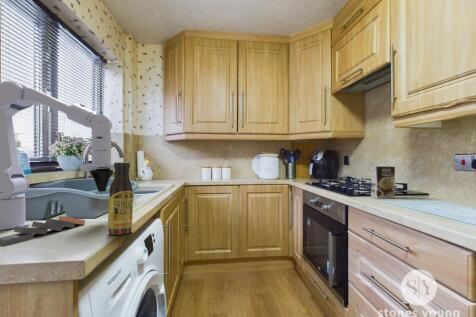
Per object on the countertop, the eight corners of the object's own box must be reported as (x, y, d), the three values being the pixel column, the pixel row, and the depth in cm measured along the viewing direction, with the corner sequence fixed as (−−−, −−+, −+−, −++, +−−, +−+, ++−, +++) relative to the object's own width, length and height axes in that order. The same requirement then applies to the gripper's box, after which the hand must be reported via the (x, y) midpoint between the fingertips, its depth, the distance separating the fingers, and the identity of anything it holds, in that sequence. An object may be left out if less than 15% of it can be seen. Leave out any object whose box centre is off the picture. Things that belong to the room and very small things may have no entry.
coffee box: (377, 198, 129) (377, 166, 129) (370, 197, 136) (370, 166, 136) (395, 198, 129) (395, 166, 129) (388, 196, 136) (387, 166, 136)
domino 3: (61, 231, 75) (39, 228, 70) (52, 229, 77) (31, 226, 72) (63, 226, 76) (42, 222, 71) (54, 224, 77) (33, 221, 72)
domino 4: (73, 227, 79) (54, 224, 74) (64, 226, 80) (45, 223, 75) (74, 223, 79) (55, 219, 74) (66, 221, 81) (47, 218, 76)
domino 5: (84, 224, 82) (66, 221, 77) (75, 223, 84) (57, 220, 79) (85, 220, 83) (68, 216, 78) (77, 219, 84) (59, 215, 79)
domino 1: (33, 239, 68) (5, 246, 63) (23, 237, 70) (-4, 244, 64) (33, 233, 68) (5, 240, 63) (23, 232, 70) (-4, 238, 64)
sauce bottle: (113, 237, 68) (112, 162, 68) (104, 233, 73) (103, 162, 73) (137, 232, 73) (136, 162, 73) (127, 228, 77) (127, 162, 77)
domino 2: (46, 234, 72) (20, 233, 67) (38, 232, 73) (13, 231, 68) (47, 229, 72) (22, 227, 67) (40, 227, 74) (15, 226, 69)
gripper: (92, 150, 79) (92, 194, 79) (126, 151, 93) (127, 189, 93) (74, 150, 81) (75, 193, 81) (111, 151, 95) (111, 188, 95)
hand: (101, 191), depth 87 cm, fingers closed
